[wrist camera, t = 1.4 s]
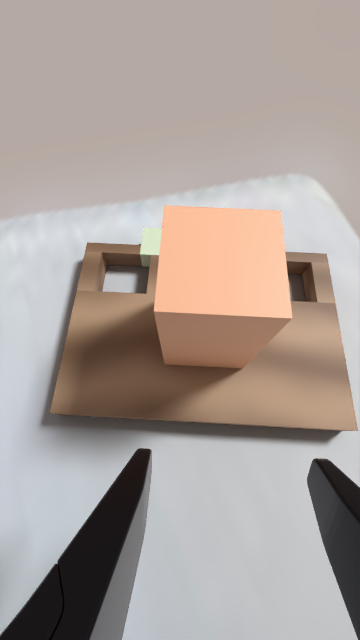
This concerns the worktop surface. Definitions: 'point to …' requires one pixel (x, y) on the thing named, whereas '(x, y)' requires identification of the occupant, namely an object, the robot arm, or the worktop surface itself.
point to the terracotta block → (220, 285)
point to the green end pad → (150, 244)
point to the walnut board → (199, 381)
